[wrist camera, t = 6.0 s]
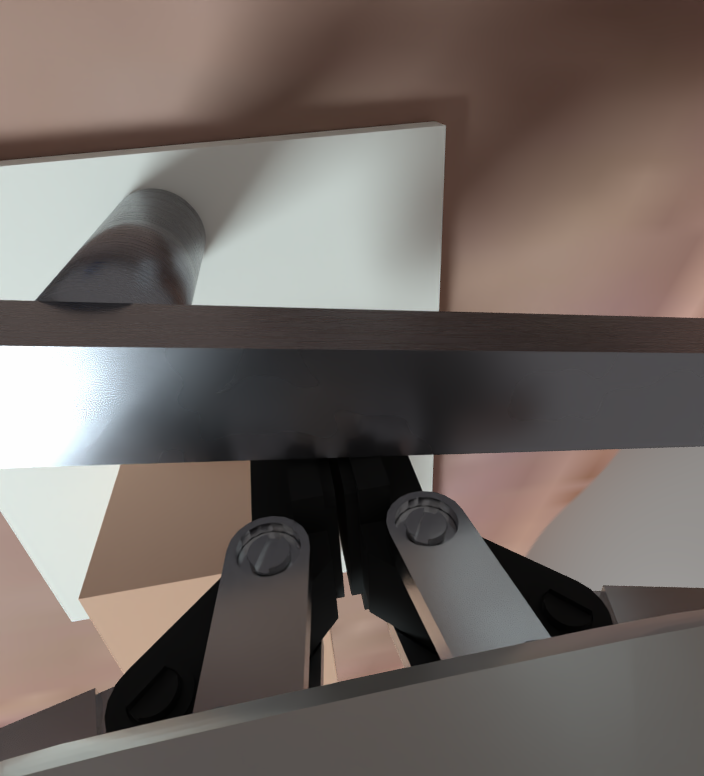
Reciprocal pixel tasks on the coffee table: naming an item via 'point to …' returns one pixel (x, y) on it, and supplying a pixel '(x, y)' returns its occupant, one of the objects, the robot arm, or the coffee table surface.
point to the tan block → (165, 551)
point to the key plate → (225, 265)
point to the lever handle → (313, 368)
